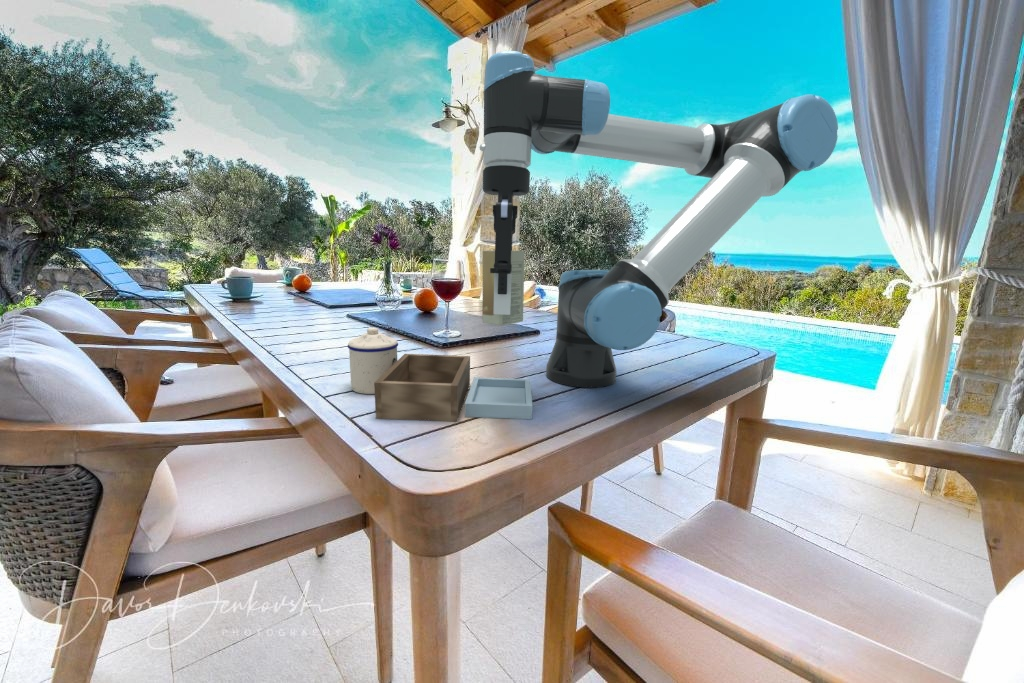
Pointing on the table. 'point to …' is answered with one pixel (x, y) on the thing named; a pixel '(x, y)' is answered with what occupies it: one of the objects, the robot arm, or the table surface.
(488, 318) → the skincare box
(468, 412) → the tray
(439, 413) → the caddy
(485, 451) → the table surface
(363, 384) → the cream lidded jar
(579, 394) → the table surface
